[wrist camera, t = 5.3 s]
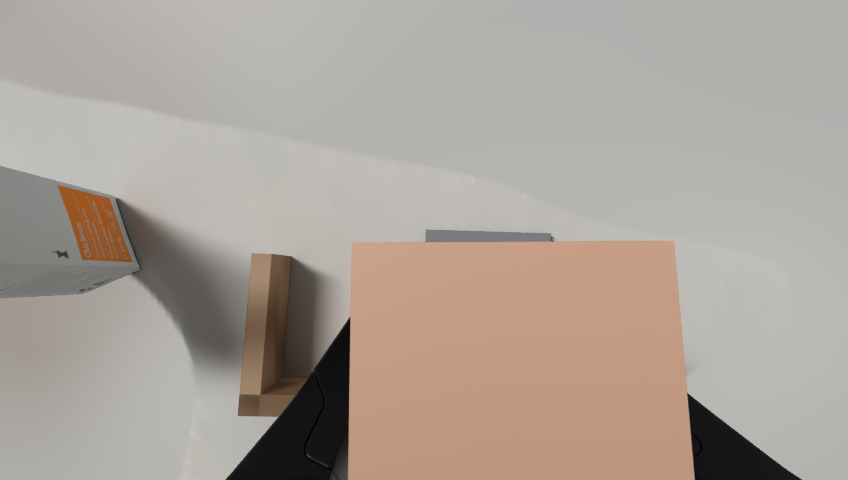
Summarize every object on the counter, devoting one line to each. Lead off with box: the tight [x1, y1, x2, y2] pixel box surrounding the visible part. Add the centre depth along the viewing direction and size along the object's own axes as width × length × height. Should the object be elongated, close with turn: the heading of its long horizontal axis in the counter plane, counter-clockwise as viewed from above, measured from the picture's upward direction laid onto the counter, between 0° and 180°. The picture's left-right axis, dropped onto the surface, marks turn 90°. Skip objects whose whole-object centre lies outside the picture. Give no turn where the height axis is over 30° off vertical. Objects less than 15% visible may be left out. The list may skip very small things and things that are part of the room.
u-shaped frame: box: [238, 254, 307, 417], centre depth 20 cm, size 10×9×3 cm
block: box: [348, 241, 695, 480], centre depth 10 cm, size 5×5×12 cm
